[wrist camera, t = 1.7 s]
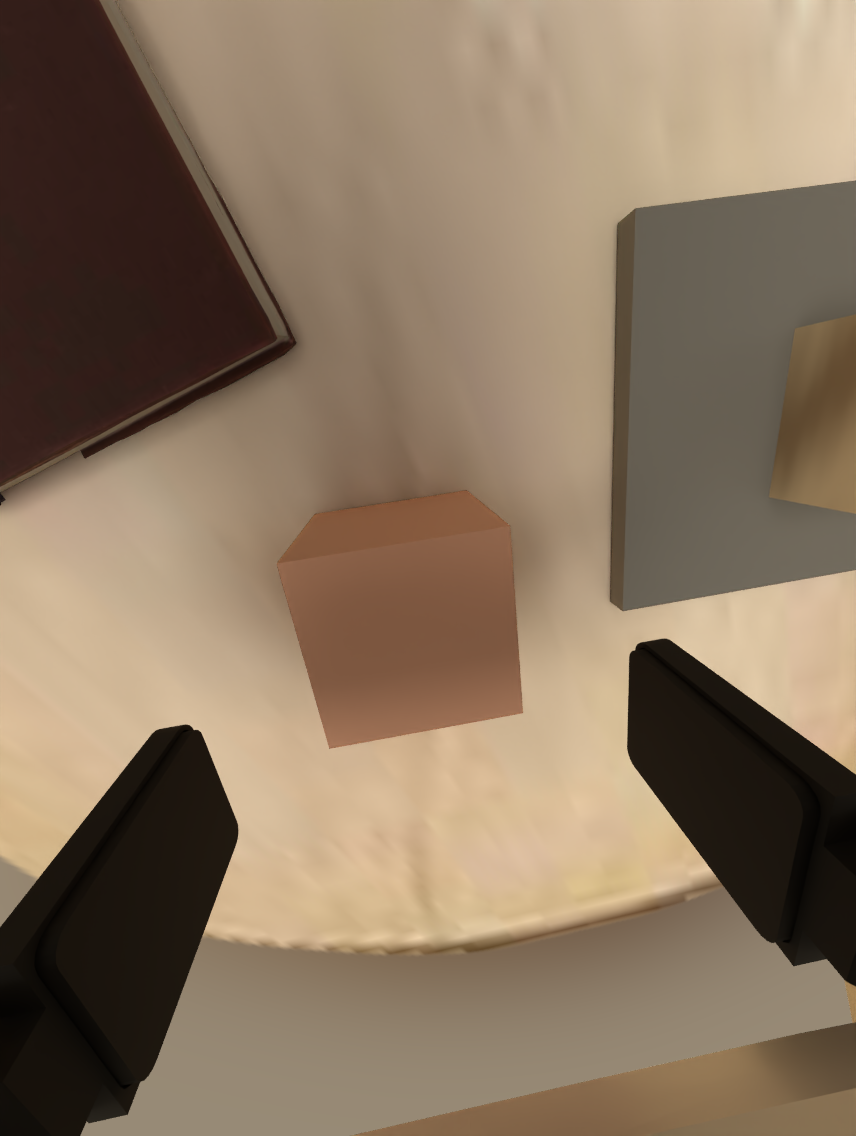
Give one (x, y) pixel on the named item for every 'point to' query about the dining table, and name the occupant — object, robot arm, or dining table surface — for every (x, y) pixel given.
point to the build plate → (720, 390)
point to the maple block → (819, 419)
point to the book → (108, 246)
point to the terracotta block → (405, 616)
